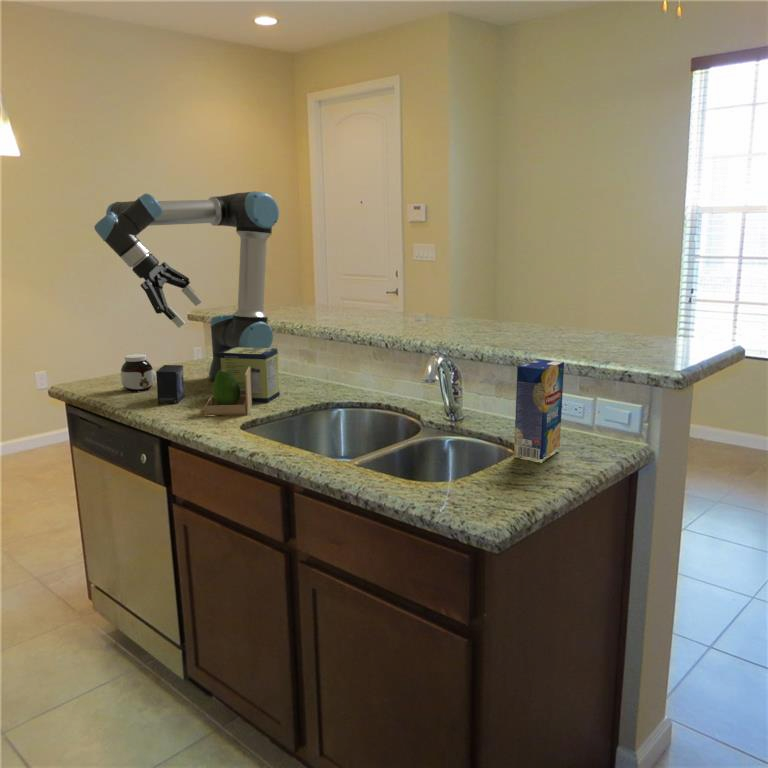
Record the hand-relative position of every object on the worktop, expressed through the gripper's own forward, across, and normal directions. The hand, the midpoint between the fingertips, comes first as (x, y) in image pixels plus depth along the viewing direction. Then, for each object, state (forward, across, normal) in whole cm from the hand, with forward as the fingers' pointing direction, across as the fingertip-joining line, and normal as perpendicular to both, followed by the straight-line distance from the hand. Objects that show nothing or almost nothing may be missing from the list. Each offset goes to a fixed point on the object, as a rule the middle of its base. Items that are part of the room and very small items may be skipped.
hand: (191, 314), depth 216 cm
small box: (+17, +11, -20) cm, 29 cm away
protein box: (+32, +5, -2) cm, 32 cm away
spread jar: (+11, -2, -38) cm, 40 cm away
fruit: (+26, +20, +1) cm, 32 cm away
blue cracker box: (+66, +45, +81) cm, 114 cm away
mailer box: (+26, +20, +1) cm, 33 cm away
